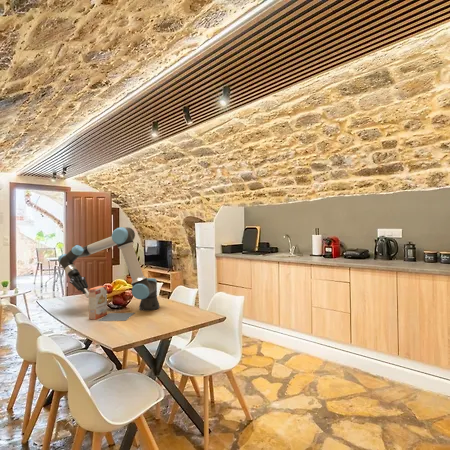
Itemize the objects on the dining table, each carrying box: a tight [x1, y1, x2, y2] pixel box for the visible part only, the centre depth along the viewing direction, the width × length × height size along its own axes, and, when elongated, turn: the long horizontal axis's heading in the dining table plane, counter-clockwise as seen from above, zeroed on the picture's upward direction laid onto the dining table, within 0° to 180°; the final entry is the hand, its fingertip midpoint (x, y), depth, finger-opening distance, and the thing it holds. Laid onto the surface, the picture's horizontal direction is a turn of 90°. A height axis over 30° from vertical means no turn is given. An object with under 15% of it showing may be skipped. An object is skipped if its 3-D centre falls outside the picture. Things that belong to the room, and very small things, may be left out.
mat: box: [97, 312, 135, 322], centre depth 236 cm, size 19×20×1 cm
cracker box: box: [88, 285, 108, 320], centre depth 237 cm, size 14×6×21 cm, turn 168°
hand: (88, 296), depth 242 cm, fingers closed
